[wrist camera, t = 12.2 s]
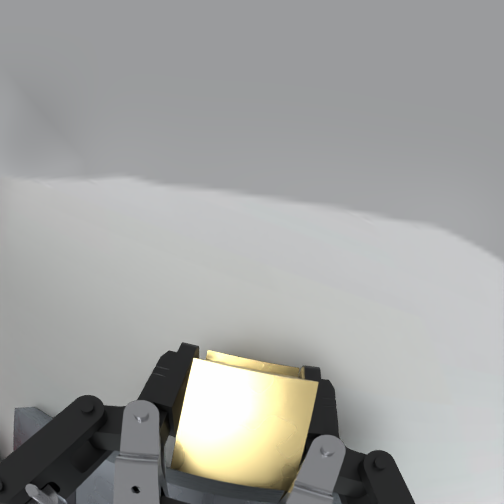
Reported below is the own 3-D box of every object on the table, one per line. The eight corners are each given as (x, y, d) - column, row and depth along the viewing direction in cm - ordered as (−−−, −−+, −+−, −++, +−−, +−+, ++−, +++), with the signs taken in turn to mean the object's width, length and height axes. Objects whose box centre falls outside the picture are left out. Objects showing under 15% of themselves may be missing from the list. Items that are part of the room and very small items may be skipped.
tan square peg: (198, 423, 16) (153, 475, 7) (214, 352, 18) (181, 339, 9) (274, 438, 16) (303, 503, 7) (290, 367, 18) (336, 368, 9)
